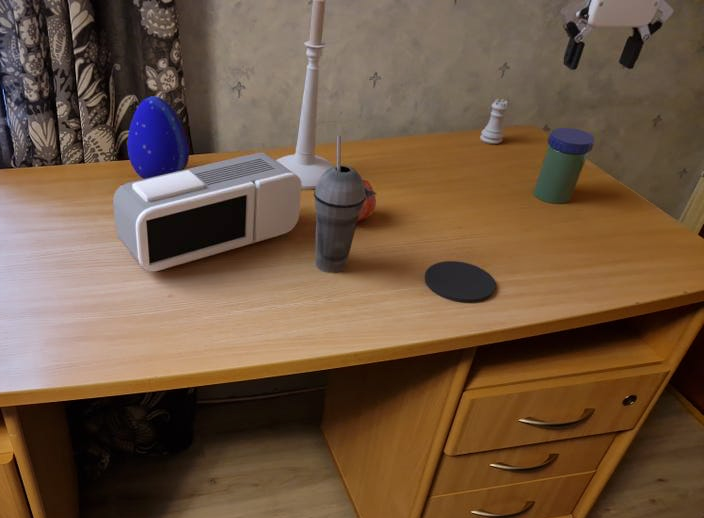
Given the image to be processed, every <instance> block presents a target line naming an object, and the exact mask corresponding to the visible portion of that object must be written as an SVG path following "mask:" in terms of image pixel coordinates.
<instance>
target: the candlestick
mask: <svg viewBox="0 0 704 518" xmlns="http://www.w3.org/2000/svg"><path fill="white" fill-rule="evenodd" d="M325 10H326V0H312V6H311V18H310V28H309V29H310V31H309V40H308V41H305V42H304V43H303V44H304V46H305V47H306V53H305V54H306V56H307V57H308V65H306V73H305V74H306V75H305V79H304V80H305V81H304V89H303V96H302V103H301V111H300V118H299V124H298V132H297V134H298V135H297V139H296V140H297V141H296V147H295V153H294V154H288V155H284V156H282V157H280V158H278V159H275V160H276V161H277V162H279V163H280V164H281V165H283V166H284V167H286V168H287V169H289V170H290V171H291V172H293V173H294V174H296V175H297V176H299V178H300V180H301V184H302V188H301V190H307V191H308V190H309V191H311V190H315V189H316V185H317V183H318V181H319V179H320V178H321V176H322V175H323V174H324V173H325V172H326V171H327V170H329V169H330V168H332V167H335V166H336V165H334V164H333V162H331V161H330V160H327V159H326V158H324V157H321V156H319V155H316V139H317V137H316V136H317V135H316V134H317V116H318V115H317V114H318V95H319V74H320V66H319V61H320V58H321V57H322V56H323V49H324V47H326V46H327V42H324V41H323V31H324V19H325V12H326V11H325Z"/></svg>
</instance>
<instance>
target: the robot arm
mask: <svg viewBox="0 0 704 518" xmlns="http://www.w3.org/2000/svg"><path fill="white" fill-rule="evenodd" d="M674 12H675V9H674V8H673V7H672V6H671V5H670V4H669V3H668V2H667V1H666V0H574V1H572V2H571V3H569V4H568V5H566V6H564V7H562V8H561V10H560V17H561V22H562V28H563V29H564V31H565V32H566V35H567V37H568V39H569V40H568V43H567V46H566V48H565V51H564V55H563V65H564V66H565V67H567V68H568V69H569V70H571V71H575V70H577V69H578V67H579V64H580V61H581V57H582V54H583V52H584V49H585V46H586V43H585V42H584V41H583V40H585V38H587V36H589V34H591V32H592V31H593V30H595V28H597V29H602V28H603V29H605V28H607V29H608V28H609V29H611V28H612V29H613V28H614V29H615V28H620V29H621V28H630V30H631V32H632V35H629V36H628V37H627V38H626V40H625V44H624V46H623V50H622V52H621V54H620V57H619V60H618V63H619V64H620V65H621V66H623V67H624V68H626V69H628V70H632V69H634V67H635V64H636V62H637V61H638V59H639V57H640V54H641V52H642V49H643V47H644V44H645V43H646V42H649V40H650V39H651V36H653V35H654V34H655V33H656V32H657V31H659V30H660V29H661V28H662V26H663V24H665V22H667V21H668V19H669V18H670V17H671V16H672V15H673V14H674ZM575 16H576V18H577V19H578V21H577V22H575Z"/></svg>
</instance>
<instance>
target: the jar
mask: <svg viewBox="0 0 704 518" xmlns="http://www.w3.org/2000/svg"><path fill="white" fill-rule="evenodd" d="M588 155H589V152H588V153H584V154H570V153H565V152H561V151H558V150H556V149H554V148H552V147H551V146H550V145H549V144H548V145H547V148H546V151H545V154H544V157H543V160H542V163H541V166H540V169H539V172H538V175H537V178H536V181H535V184H534V187H533V190H532V194H533V195H534V197H536V199H538V200H540V201H543V202H545V203H548V204H555V205H556V204H558V205H559V204H560V205H562V204H567V203H569V202H570V201H571V199H572V197H573V194H574V192H575V189H576V186H577V184H578V181H579V179H580V176H581V173H582V170H583V168H584V165H585V162H586V160H587V157H588Z"/></svg>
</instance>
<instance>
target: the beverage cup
mask: <svg viewBox="0 0 704 518" xmlns="http://www.w3.org/2000/svg"><path fill="white" fill-rule="evenodd" d="M336 148H337V149H336V165H334V166H335V167H332V168H330V169H329V170H327V171H326V172H325V173H324V174H323V175H322V176H321V178H320V179H319V181H318V183H317V185H316V189H314V191H313V197H314V206H315V216H316V217H315V266H316V268H317V269H318V270H320V271H322V272H323V273H324V272H325V273H329V274H330V273H331V274H332V273H333V274H336V273H340V272H342V271H343V270H345V269H346V266H347V262H348V259H349V256H350V252H351V249H352V244H353V241H354V235H355V232H356V228H357V224H358V222H359V221H358V217H359V213H360V211H361V209H362V206H363V203H364V201H365V199H366V198H365V186H364V182H363V180H364V179H363V177H362V176H361V174H360V173H359V172H358V171H357V170H356V169H354V168H352V167H351V166H348V165H341V162H342V161H341V160H342V159H341V158H342V156H341V155H342V135H341V134H339V133H338V134H336Z"/></svg>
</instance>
